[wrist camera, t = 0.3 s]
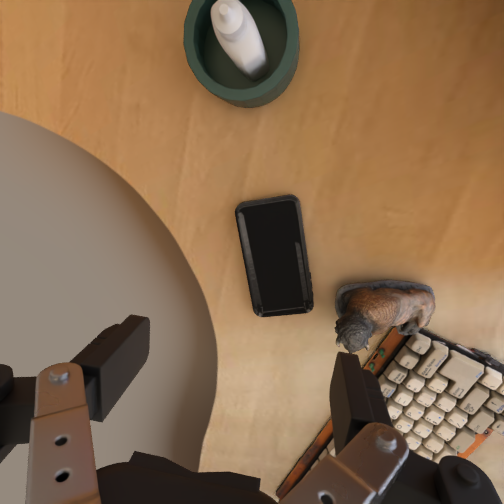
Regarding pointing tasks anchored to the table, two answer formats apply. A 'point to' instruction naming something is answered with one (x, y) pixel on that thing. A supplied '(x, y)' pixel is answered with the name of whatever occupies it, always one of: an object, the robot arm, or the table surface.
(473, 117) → the table surface
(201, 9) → the green short hollow cylinder
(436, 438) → the mechanical keyboard
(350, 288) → the bison figurine
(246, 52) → the eye dropper bottle
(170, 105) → the table surface
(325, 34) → the table surface
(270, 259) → the phone
